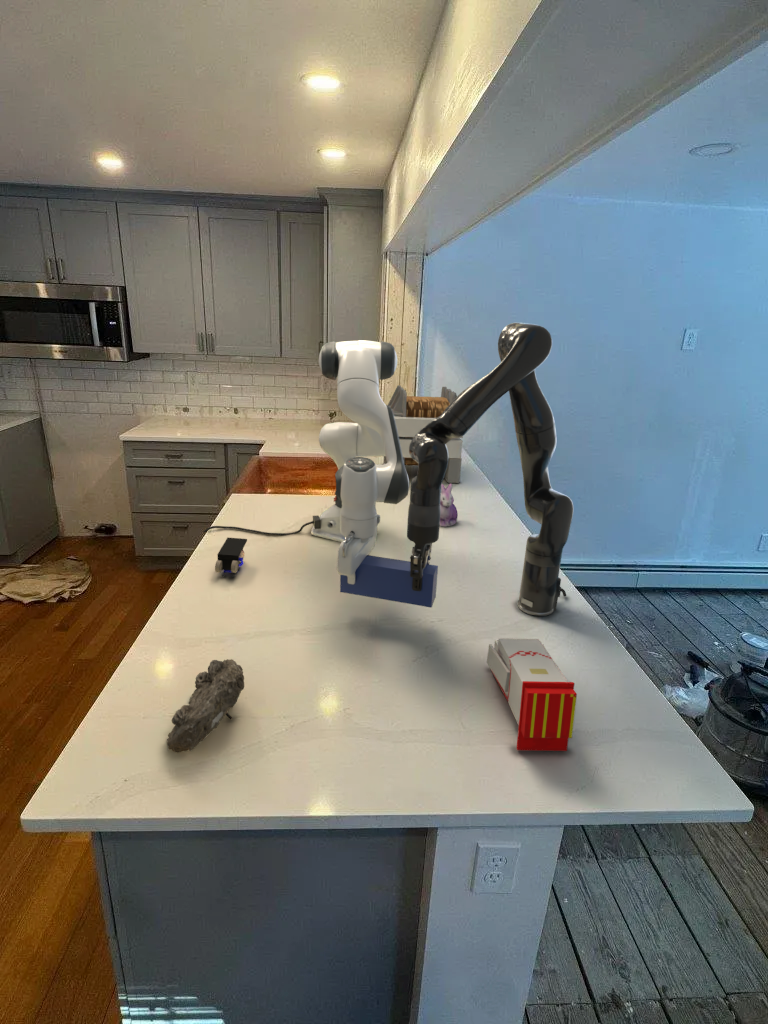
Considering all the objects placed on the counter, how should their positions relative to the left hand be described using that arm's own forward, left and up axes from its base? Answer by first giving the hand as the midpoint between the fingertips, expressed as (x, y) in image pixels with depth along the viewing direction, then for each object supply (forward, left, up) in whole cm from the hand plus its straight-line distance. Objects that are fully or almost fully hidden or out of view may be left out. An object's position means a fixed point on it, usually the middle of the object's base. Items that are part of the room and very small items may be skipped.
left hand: (356, 576), depth 142 cm
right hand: (+16, 0, +1) cm, 16 cm away
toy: (+43, -21, -11) cm, 49 cm away
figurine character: (-43, +12, -11) cm, 46 cm away
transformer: (-14, +138, -11) cm, 140 cm away
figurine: (+10, +76, -11) cm, 77 cm away
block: (+8, 0, -4) cm, 9 cm away
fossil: (-14, -45, -11) cm, 48 cm away
